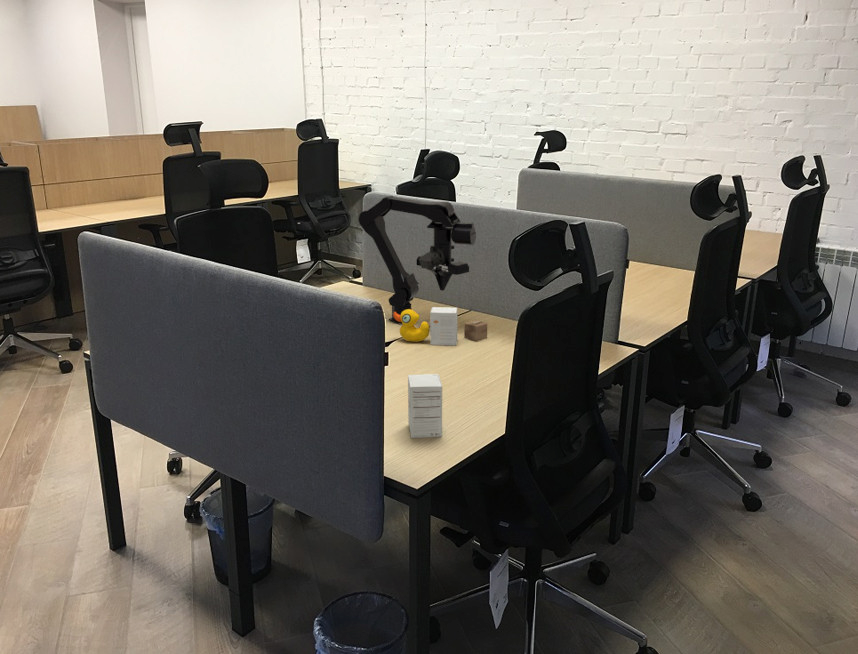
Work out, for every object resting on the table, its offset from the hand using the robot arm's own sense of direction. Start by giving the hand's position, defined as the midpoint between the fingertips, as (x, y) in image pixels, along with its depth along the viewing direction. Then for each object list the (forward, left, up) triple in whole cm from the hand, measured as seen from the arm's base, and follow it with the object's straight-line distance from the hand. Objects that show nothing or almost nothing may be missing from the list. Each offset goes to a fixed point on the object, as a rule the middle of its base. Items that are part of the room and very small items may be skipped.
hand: (442, 290), depth 241 cm
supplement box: (+52, -57, -12) cm, 78 cm away
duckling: (+4, -17, -12) cm, 22 cm away
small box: (+12, -11, -12) cm, 20 cm away
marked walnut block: (+16, -1, -12) cm, 20 cm away
